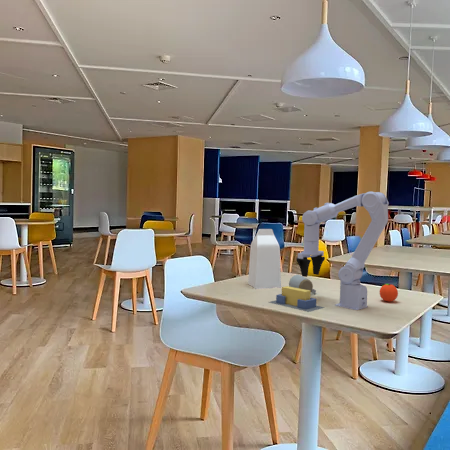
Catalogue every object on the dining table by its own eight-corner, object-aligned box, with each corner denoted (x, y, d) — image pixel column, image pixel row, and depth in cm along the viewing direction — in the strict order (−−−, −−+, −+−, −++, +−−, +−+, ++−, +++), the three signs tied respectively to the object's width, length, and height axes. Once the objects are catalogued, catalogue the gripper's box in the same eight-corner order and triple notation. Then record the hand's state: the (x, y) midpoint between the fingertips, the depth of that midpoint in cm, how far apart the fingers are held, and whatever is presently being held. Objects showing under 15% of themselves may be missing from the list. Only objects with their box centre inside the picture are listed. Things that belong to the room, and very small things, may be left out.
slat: (310, 306, 169) (310, 290, 169) (304, 308, 167) (305, 291, 167) (286, 301, 177) (287, 286, 177) (281, 302, 175) (281, 287, 174)
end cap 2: (316, 306, 169) (316, 298, 169) (305, 309, 165) (306, 301, 165) (307, 304, 172) (307, 297, 172) (297, 307, 167) (297, 299, 167)
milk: (255, 288, 202) (256, 230, 201) (248, 283, 213) (249, 228, 212) (281, 287, 205) (282, 230, 203) (272, 283, 216) (273, 228, 215)
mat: (324, 308, 169) (324, 307, 168) (308, 312, 162) (308, 311, 162) (284, 299, 182) (284, 298, 182) (267, 302, 175) (267, 302, 175)
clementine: (373, 299, 185) (374, 282, 184) (387, 298, 187) (388, 281, 187) (387, 303, 177) (387, 285, 177) (401, 302, 180) (402, 284, 179)
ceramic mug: (299, 296, 187) (299, 278, 187) (288, 292, 195) (289, 274, 194) (320, 295, 192) (321, 277, 191) (308, 291, 199) (309, 274, 199)
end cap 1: (276, 302, 175) (276, 294, 174) (286, 300, 179) (286, 292, 179) (284, 304, 172) (284, 296, 172) (294, 302, 176) (294, 294, 176)
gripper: (313, 239, 188) (312, 272, 189) (291, 241, 178) (290, 275, 179) (328, 240, 183) (327, 274, 183) (306, 242, 173) (305, 278, 173)
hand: (310, 275), depth 181 cm, fingers open, 7 cm apart
